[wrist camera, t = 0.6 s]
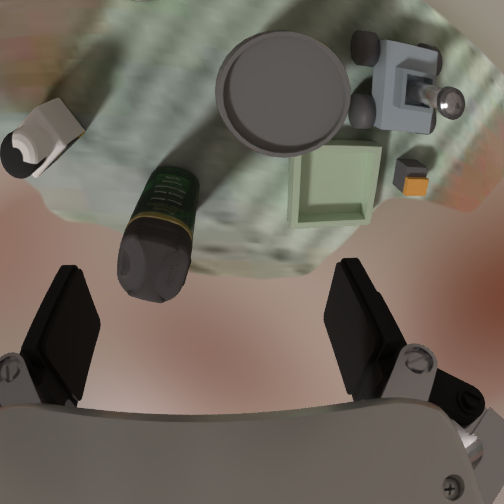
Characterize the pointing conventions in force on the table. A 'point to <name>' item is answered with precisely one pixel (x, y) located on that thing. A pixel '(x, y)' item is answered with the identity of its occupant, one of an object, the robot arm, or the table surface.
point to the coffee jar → (159, 236)
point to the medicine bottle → (40, 140)
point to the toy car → (393, 84)
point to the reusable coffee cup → (283, 93)
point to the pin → (437, 98)
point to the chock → (411, 177)
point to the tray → (333, 184)
